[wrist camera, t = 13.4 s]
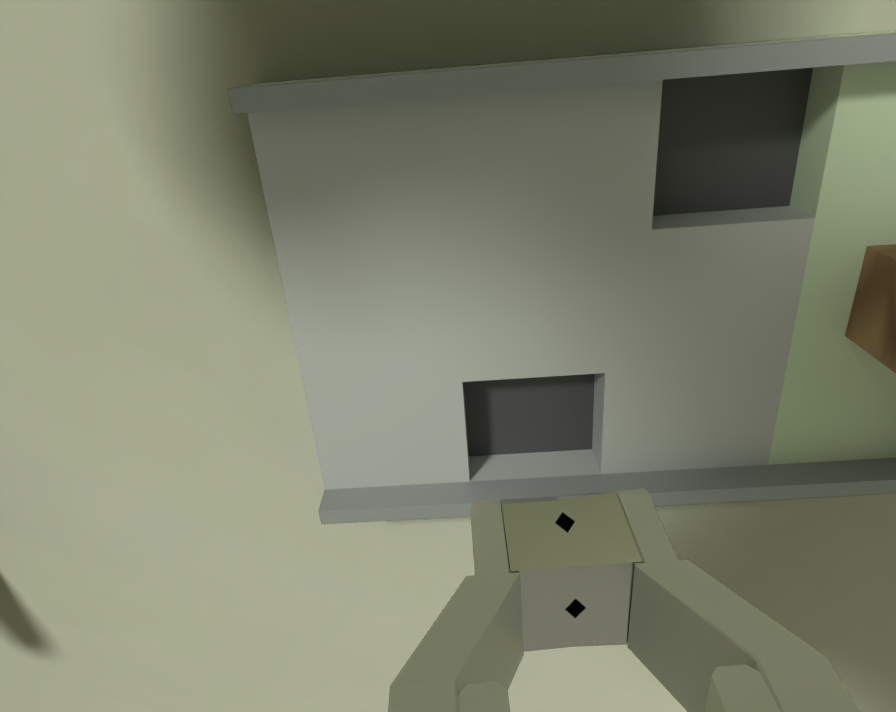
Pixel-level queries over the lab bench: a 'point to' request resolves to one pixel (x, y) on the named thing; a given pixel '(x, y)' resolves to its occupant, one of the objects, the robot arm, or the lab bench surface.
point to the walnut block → (876, 306)
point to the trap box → (587, 274)
